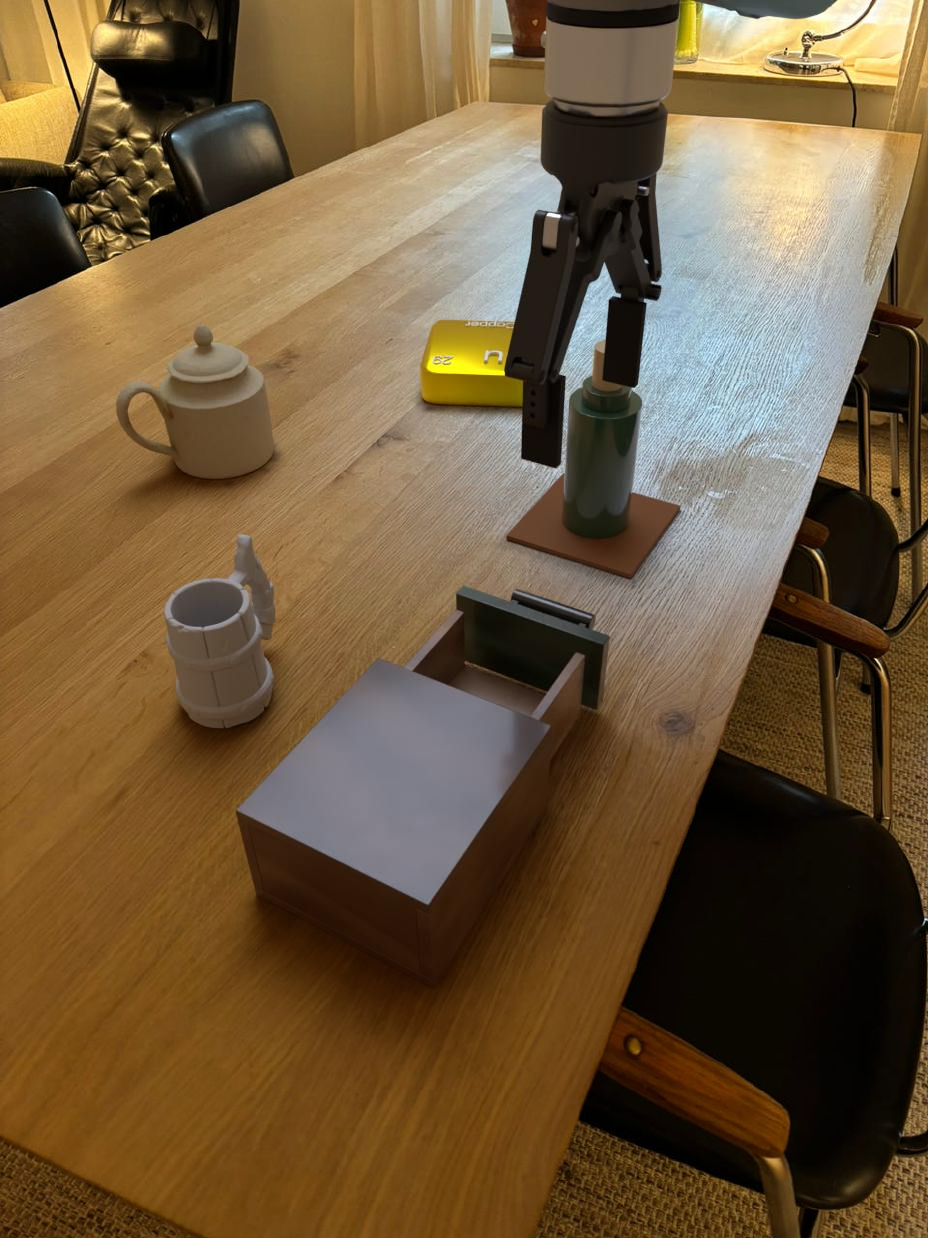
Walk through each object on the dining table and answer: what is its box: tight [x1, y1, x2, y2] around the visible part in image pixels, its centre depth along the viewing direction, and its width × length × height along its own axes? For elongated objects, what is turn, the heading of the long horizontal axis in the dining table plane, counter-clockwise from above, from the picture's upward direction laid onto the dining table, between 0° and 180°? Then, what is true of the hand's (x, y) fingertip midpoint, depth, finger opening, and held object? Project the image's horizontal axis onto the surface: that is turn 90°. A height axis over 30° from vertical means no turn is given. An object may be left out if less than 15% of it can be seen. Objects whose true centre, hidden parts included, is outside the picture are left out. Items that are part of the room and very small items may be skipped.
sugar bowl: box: [115, 322, 275, 480], centre depth 103 cm, size 15×11×15 cm
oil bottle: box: [562, 339, 644, 539], centre depth 92 cm, size 7×7×18 cm
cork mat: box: [505, 472, 681, 579], centre depth 98 cm, size 13×13×1 cm
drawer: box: [402, 585, 611, 761], centre depth 75 cm, size 19×13×7 cm
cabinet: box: [235, 657, 552, 989], centre depth 66 cm, size 16×14×9 cm
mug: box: [163, 534, 276, 729], centre depth 78 cm, size 8×12×12 cm, turn 159°
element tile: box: [419, 319, 523, 408], centre depth 121 cm, size 15×15×5 cm
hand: (582, 419), depth 73 cm, fingers open, 13 cm apart
